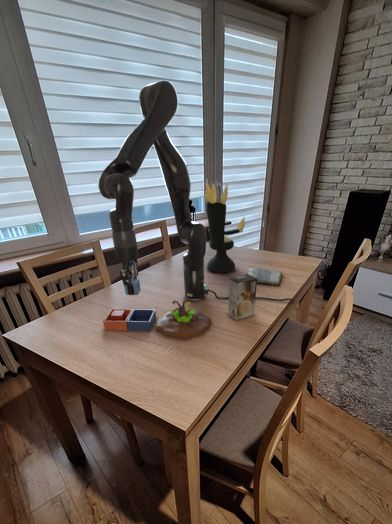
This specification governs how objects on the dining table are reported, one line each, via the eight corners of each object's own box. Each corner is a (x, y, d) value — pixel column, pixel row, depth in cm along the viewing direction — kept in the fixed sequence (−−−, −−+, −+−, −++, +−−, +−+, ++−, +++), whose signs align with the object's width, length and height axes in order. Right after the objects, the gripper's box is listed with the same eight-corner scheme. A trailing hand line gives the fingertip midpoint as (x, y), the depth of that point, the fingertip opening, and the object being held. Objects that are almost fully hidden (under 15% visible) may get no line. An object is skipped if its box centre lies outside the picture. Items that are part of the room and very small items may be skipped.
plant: (191, 344, 98) (190, 316, 92) (148, 330, 107) (145, 304, 100) (217, 320, 112) (218, 295, 105) (178, 310, 121) (176, 285, 114)
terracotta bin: (134, 317, 116) (133, 309, 113) (127, 330, 107) (125, 321, 105) (113, 317, 116) (111, 308, 114) (105, 330, 108) (102, 321, 105)
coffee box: (245, 309, 120) (248, 273, 111) (254, 315, 115) (258, 278, 106) (227, 314, 116) (229, 277, 107) (236, 320, 112) (238, 282, 103)
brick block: (126, 320, 113) (124, 310, 110) (123, 325, 109) (121, 315, 107) (116, 319, 113) (114, 310, 111) (112, 325, 110) (110, 315, 107)
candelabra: (242, 267, 166) (249, 179, 140) (225, 278, 150) (229, 183, 124) (215, 262, 174) (216, 179, 148) (196, 273, 159) (194, 182, 133)
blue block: (140, 290, 103) (138, 278, 100) (137, 295, 99) (135, 283, 97) (129, 290, 103) (127, 278, 101) (125, 294, 100) (123, 283, 97)
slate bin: (156, 318, 115) (155, 309, 113) (150, 331, 106) (149, 322, 104) (135, 317, 116) (133, 309, 113) (128, 330, 107) (126, 321, 105)
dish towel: (279, 286, 140) (280, 280, 138) (244, 282, 145) (244, 276, 143) (282, 274, 155) (283, 268, 153) (250, 271, 159) (250, 265, 158)
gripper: (130, 249, 85) (138, 300, 95) (141, 238, 97) (147, 284, 107) (107, 249, 86) (117, 300, 96) (120, 238, 97) (128, 284, 107)
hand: (133, 291), depth 101 cm, fingers closed on blue block, 4 cm apart
